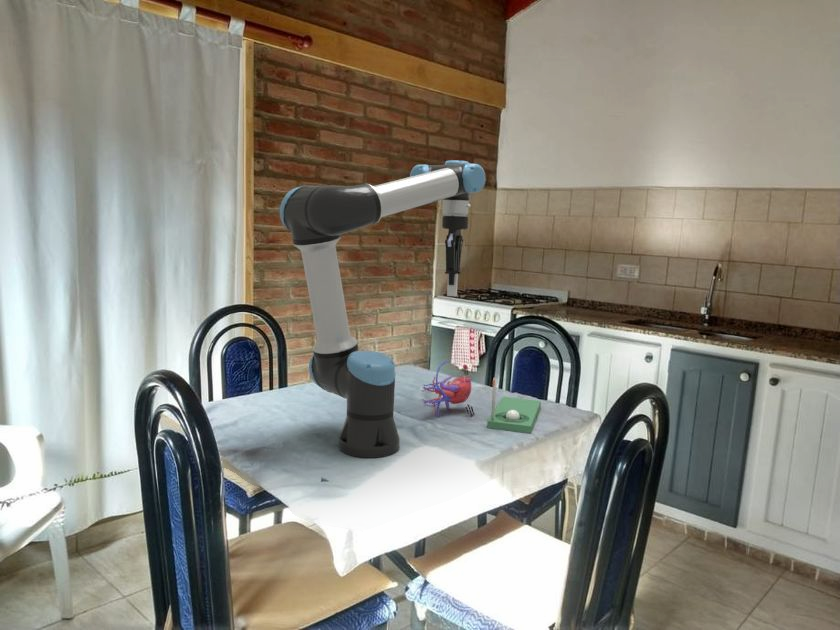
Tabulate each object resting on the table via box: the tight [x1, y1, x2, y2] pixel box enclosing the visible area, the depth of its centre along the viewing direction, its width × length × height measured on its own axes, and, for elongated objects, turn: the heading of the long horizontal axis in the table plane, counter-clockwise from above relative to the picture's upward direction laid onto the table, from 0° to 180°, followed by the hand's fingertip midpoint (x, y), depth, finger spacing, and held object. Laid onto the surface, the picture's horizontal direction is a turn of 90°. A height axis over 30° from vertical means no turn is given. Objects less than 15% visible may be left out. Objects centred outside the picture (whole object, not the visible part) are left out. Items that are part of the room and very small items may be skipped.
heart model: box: [421, 360, 475, 418], centre depth 191 cm, size 17×10×20 cm
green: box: [486, 377, 542, 434], centre depth 188 cm, size 27×12×14 cm, turn 164°
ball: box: [506, 410, 520, 420], centre depth 183 cm, size 4×4×4 cm
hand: (451, 295), depth 191 cm, fingers closed
